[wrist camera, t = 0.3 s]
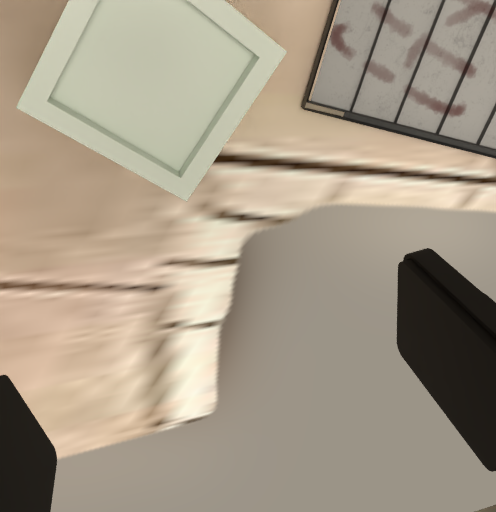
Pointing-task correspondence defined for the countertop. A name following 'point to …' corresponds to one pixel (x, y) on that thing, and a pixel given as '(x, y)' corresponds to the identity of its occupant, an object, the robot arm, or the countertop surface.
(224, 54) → the pale green square tray
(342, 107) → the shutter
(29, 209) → the countertop surface
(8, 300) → the countertop surface
